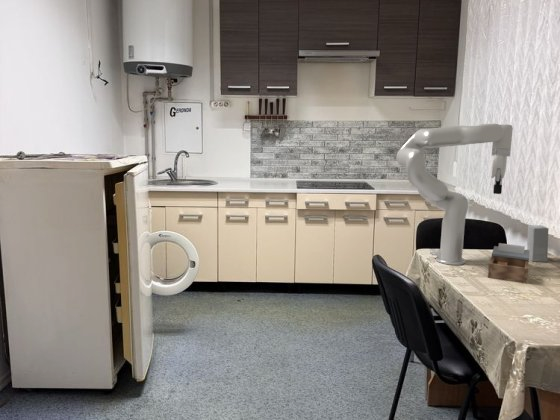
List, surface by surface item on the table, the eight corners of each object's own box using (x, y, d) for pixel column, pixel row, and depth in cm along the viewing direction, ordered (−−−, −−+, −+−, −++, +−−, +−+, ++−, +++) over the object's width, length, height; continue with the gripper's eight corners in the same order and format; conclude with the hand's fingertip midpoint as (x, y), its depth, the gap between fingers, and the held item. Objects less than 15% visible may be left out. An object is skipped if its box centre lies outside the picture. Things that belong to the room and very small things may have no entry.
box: (487, 277, 183) (489, 263, 182) (490, 268, 195) (491, 255, 194) (526, 283, 176) (528, 268, 175) (527, 274, 188) (528, 260, 187)
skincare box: (547, 262, 205) (551, 228, 203) (530, 261, 207) (533, 227, 204) (540, 257, 213) (544, 224, 211) (524, 256, 215) (527, 224, 212)
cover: (491, 255, 193) (492, 246, 192) (494, 248, 205) (495, 239, 204) (528, 260, 186) (529, 250, 185) (529, 252, 198) (530, 243, 197)
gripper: (493, 151, 208) (489, 191, 211) (490, 153, 195) (486, 195, 198) (511, 152, 204) (507, 192, 208) (509, 153, 192) (505, 196, 195)
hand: (497, 193), depth 203 cm, fingers closed
